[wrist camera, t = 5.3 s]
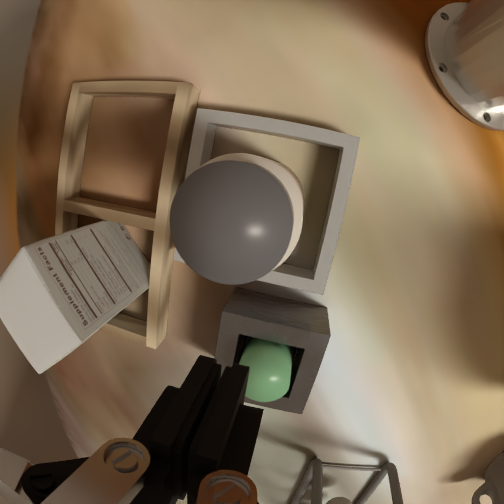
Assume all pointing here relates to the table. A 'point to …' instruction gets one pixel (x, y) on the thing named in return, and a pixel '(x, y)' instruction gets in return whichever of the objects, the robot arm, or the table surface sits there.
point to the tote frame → (344, 142)
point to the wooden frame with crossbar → (157, 221)
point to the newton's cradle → (316, 497)
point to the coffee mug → (492, 482)
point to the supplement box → (70, 289)
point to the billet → (237, 217)
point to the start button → (267, 369)
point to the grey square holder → (276, 338)
